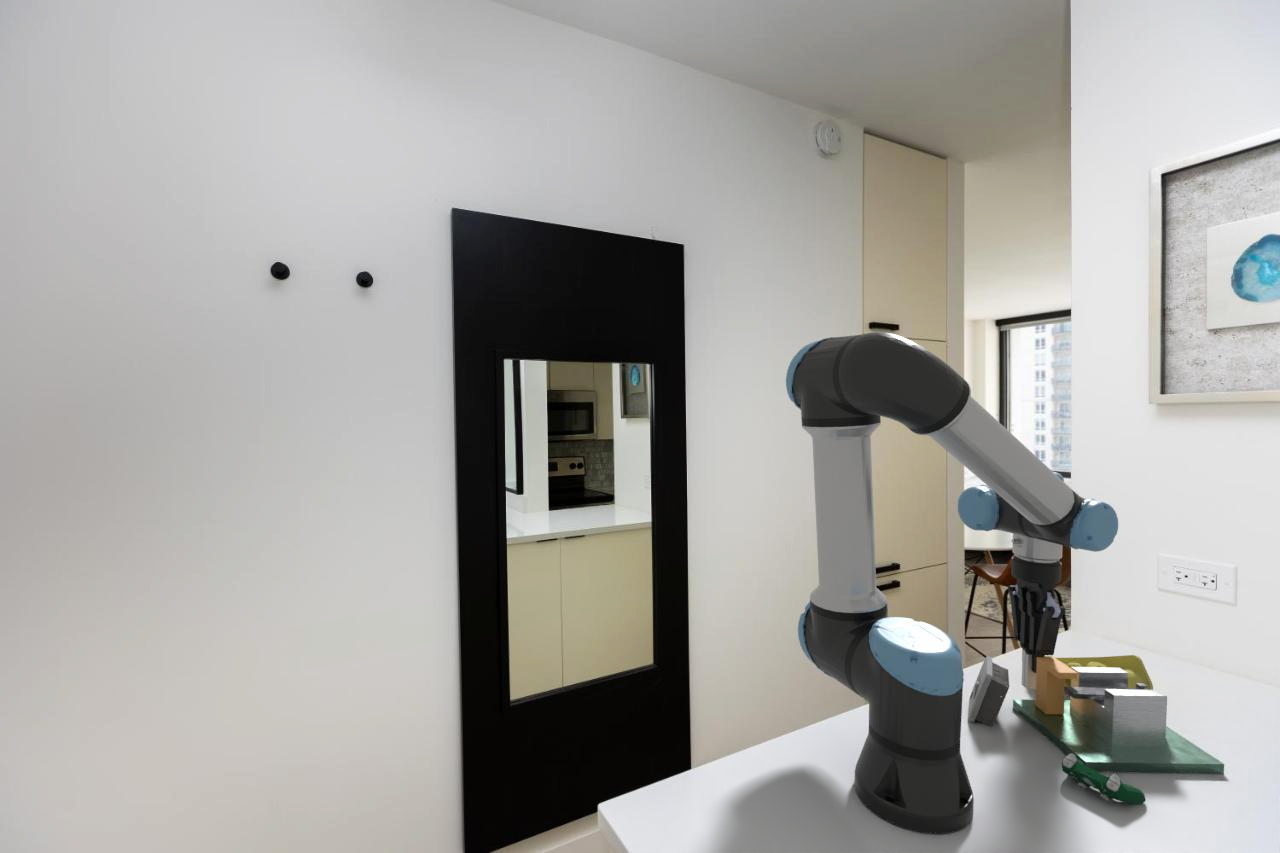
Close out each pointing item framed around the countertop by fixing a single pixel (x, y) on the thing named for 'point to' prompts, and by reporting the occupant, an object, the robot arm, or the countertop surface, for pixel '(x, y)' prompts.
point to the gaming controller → (1101, 782)
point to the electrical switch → (988, 693)
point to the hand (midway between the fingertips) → (1031, 686)
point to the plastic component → (1126, 663)
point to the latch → (1051, 684)
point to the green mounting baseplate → (1119, 728)
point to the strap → (1089, 692)
